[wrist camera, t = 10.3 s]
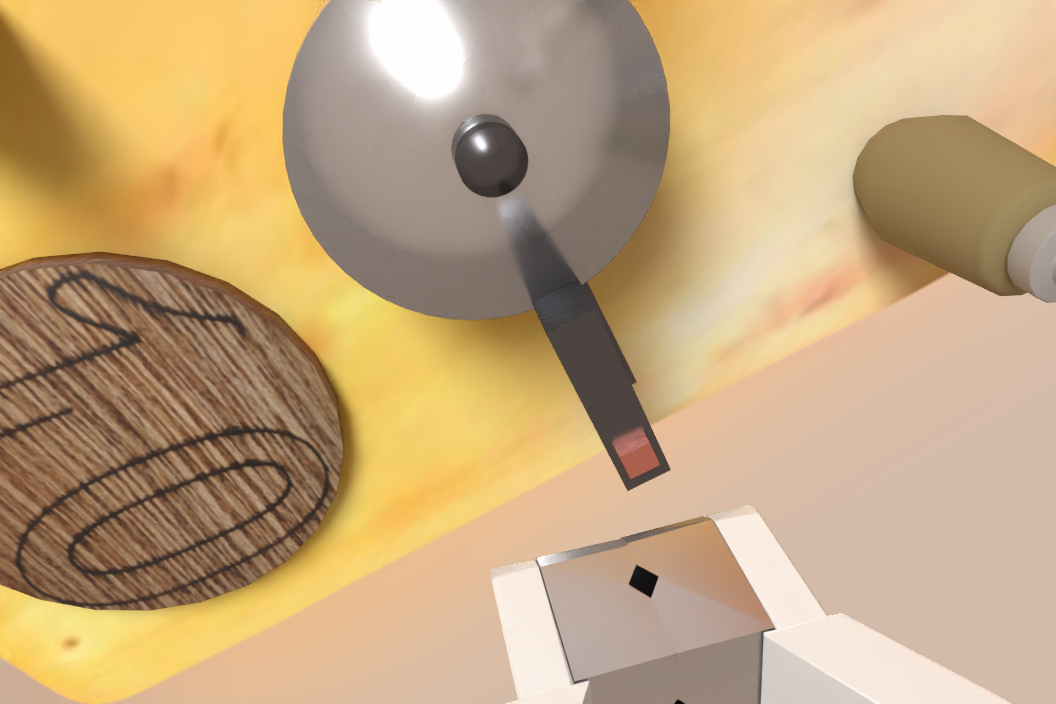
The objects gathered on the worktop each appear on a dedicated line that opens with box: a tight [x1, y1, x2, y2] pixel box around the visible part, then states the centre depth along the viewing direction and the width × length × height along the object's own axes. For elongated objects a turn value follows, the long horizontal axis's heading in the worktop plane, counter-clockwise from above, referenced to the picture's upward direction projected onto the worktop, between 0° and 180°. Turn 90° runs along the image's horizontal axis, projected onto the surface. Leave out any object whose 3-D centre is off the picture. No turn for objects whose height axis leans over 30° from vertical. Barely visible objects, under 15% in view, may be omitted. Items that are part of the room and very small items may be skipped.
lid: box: [283, 0, 670, 491], centre depth 35 cm, size 16×26×5 cm, turn 25°
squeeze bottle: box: [853, 115, 1056, 303], centre depth 42 cm, size 8×8×18 cm
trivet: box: [0, 252, 343, 610], centre depth 48 cm, size 25×25×2 cm
